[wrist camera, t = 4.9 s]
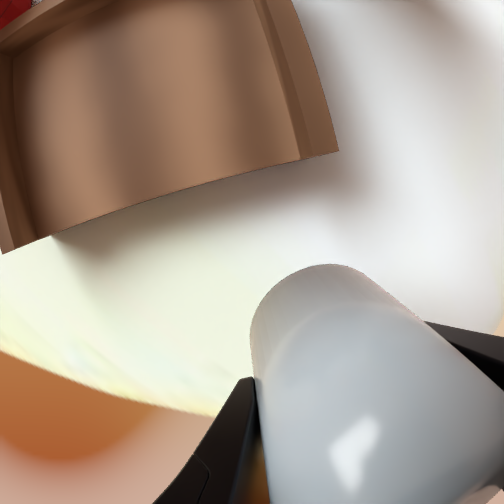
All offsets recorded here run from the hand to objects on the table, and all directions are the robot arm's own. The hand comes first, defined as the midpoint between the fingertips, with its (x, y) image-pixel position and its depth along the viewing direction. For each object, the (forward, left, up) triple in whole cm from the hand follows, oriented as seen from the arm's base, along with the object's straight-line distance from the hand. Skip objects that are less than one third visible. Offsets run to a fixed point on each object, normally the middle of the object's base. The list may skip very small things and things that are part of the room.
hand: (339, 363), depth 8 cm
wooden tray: (+6, -13, -11) cm, 18 cm away
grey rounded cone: (0, 0, -2) cm, 2 cm away
